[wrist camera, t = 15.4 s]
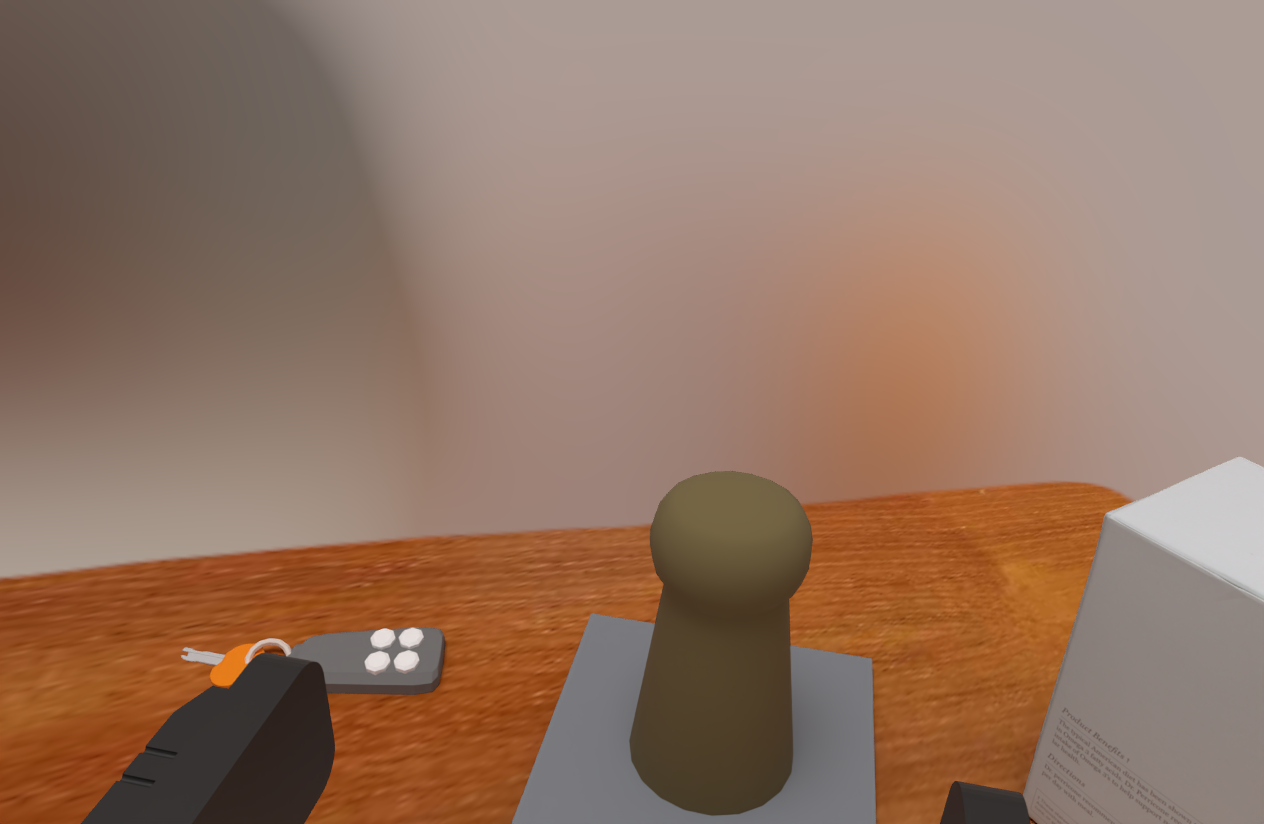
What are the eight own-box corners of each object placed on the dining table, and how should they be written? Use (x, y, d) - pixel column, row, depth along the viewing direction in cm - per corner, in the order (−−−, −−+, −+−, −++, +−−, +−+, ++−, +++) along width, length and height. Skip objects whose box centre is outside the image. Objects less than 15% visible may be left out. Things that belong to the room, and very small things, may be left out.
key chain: (448, 640, 41) (446, 613, 40) (438, 704, 38) (436, 676, 37) (139, 647, 40) (131, 620, 39) (102, 713, 37) (93, 685, 36)
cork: (787, 693, 37) (821, 453, 32) (800, 822, 32) (843, 559, 27) (634, 681, 38) (644, 441, 33) (622, 808, 32) (632, 545, 27)
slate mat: (503, 859, 31) (502, 847, 31) (591, 624, 42) (591, 613, 41) (875, 937, 29) (878, 925, 29) (870, 669, 40) (872, 658, 39)
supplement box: (1337, 874, 32) (1512, 569, 26) (1209, 984, 28) (1377, 661, 22) (1135, 727, 37) (1241, 448, 31) (1008, 804, 34) (1100, 507, 28)
